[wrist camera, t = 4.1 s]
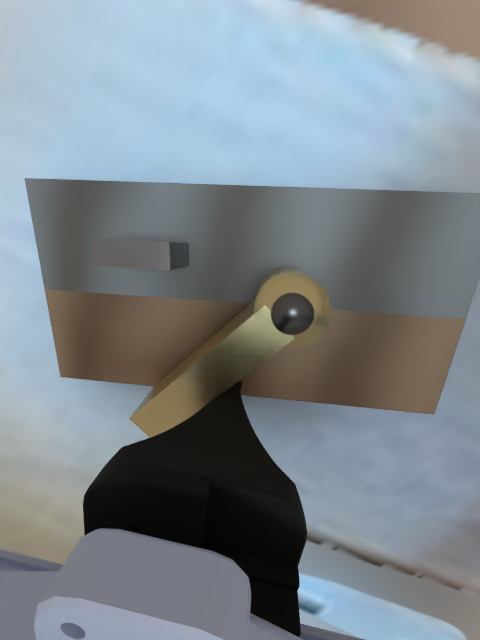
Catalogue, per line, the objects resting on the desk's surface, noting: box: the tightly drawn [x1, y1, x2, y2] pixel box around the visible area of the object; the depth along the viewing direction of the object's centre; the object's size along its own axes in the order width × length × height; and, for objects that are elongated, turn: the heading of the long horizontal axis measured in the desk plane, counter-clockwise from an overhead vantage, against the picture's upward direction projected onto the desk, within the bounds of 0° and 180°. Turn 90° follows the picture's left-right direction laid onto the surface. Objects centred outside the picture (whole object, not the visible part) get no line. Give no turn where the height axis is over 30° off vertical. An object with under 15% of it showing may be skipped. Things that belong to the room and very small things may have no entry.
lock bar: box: [129, 268, 331, 438], centre depth 10 cm, size 9×3×3 cm, turn 132°
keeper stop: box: [90, 238, 189, 270], centre depth 10 cm, size 3×1×2 cm, turn 87°
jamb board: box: [25, 178, 480, 414], centre depth 12 cm, size 20×10×1 cm, turn 87°
